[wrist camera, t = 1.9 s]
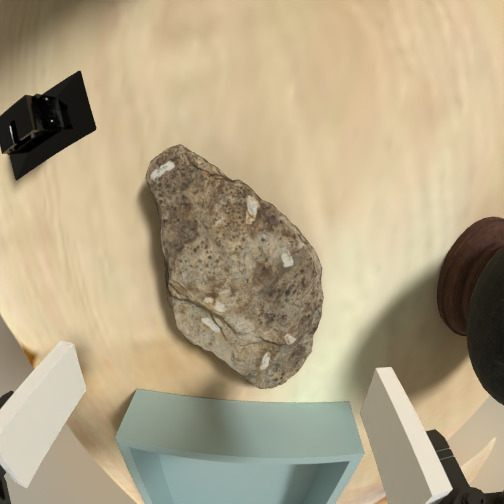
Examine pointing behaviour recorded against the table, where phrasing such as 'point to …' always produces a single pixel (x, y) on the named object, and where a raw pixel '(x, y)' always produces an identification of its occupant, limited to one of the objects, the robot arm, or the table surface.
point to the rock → (235, 269)
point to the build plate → (45, 124)
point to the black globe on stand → (477, 299)
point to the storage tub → (238, 450)
